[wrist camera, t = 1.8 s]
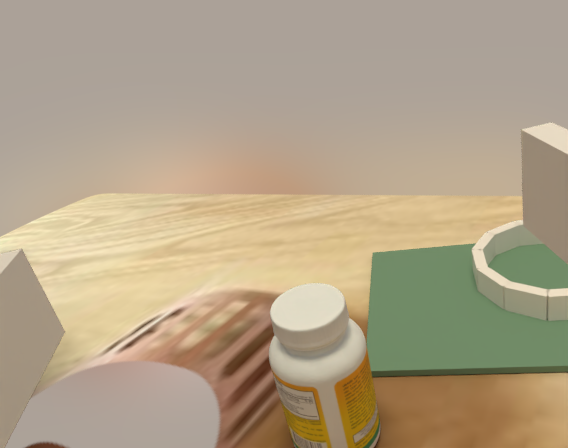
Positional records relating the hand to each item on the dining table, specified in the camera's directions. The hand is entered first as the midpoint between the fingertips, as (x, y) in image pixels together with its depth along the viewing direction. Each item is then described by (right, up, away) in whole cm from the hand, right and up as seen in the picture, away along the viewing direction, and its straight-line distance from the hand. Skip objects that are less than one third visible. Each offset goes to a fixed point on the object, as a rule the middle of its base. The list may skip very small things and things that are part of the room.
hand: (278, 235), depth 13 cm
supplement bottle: (+3, -12, +17) cm, 22 cm away
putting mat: (+16, -5, +25) cm, 30 cm away
